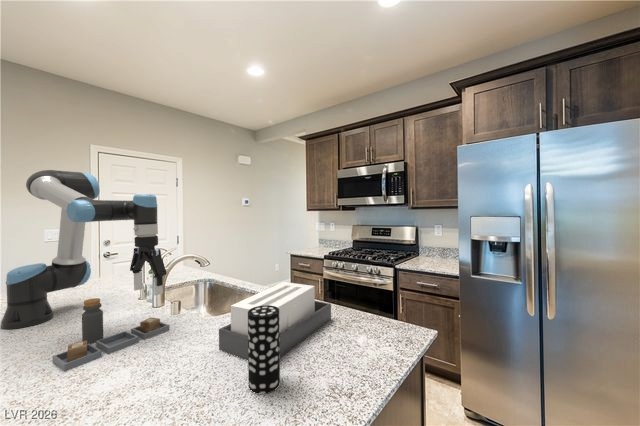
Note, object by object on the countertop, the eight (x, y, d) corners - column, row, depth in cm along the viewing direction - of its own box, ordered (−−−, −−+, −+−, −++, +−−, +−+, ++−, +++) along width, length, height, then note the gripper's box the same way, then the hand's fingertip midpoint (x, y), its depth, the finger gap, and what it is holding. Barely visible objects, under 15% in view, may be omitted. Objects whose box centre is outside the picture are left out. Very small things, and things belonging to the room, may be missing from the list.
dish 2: (95, 348, 95) (95, 341, 95) (125, 337, 103) (125, 330, 103) (108, 355, 91) (108, 348, 90) (139, 343, 98) (138, 336, 98)
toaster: (270, 362, 86) (270, 313, 86) (231, 351, 93) (230, 305, 93) (319, 320, 118) (319, 284, 117) (287, 314, 125) (287, 280, 124)
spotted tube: (251, 375, 80) (250, 305, 79) (280, 374, 80) (280, 304, 80) (246, 395, 71) (245, 317, 71) (279, 393, 72) (278, 316, 71)
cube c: (68, 359, 88) (68, 344, 88) (87, 354, 91) (86, 340, 90) (67, 365, 84) (67, 350, 84) (87, 360, 87) (86, 345, 87)
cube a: (140, 334, 105) (140, 321, 105) (150, 328, 109) (150, 317, 109) (150, 335, 103) (149, 323, 103) (160, 330, 108) (159, 318, 108)
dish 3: (131, 335, 105) (130, 328, 105) (156, 326, 113) (155, 320, 113) (144, 341, 100) (144, 334, 100) (169, 331, 108) (169, 325, 108)
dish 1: (52, 364, 86) (52, 356, 86) (89, 350, 94) (89, 343, 94) (64, 373, 81) (64, 364, 81) (102, 358, 89) (101, 350, 89)
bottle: (91, 346, 96) (90, 303, 96) (78, 345, 98) (76, 302, 97) (107, 338, 102) (106, 298, 102) (94, 337, 103) (93, 297, 103)
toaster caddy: (219, 349, 94) (218, 329, 94) (290, 311, 128) (290, 295, 128) (266, 368, 83) (266, 344, 83) (331, 320, 118) (330, 303, 117)
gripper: (118, 235, 108) (120, 290, 108) (155, 237, 96) (157, 299, 96) (139, 233, 115) (140, 285, 115) (176, 235, 102) (177, 293, 102)
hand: (148, 292), depth 105 cm, fingers open, 13 cm apart
